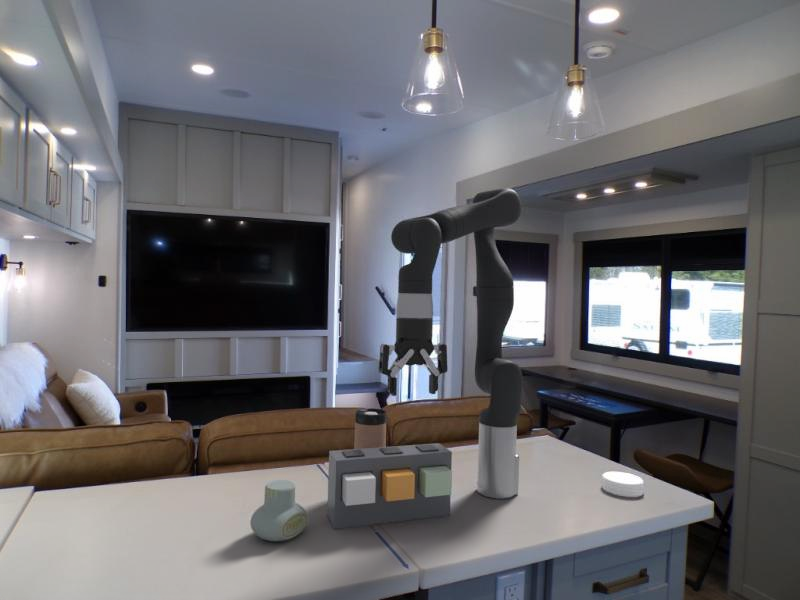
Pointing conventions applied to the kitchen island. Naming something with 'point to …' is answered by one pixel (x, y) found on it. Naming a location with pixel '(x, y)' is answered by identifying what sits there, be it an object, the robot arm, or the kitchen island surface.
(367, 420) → the travel mug
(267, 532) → the air freshener
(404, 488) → the block
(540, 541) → the kitchen island surface
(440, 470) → the block
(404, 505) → the grey switch box
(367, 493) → the block
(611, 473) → the white round disc
